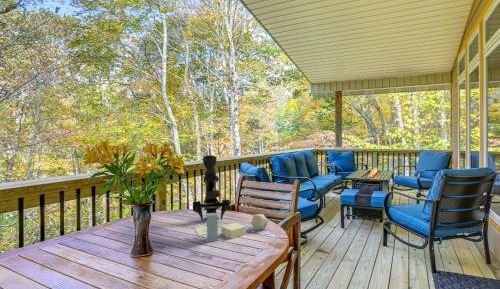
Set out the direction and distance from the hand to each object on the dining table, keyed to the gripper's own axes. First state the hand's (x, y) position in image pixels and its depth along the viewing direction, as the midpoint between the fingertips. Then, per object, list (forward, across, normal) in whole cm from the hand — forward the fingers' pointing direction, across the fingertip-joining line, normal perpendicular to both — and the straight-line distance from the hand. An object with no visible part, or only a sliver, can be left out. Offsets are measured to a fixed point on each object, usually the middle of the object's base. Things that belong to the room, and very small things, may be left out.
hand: (211, 220), depth 144 cm
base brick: (+3, +11, +9) cm, 15 cm away
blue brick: (+7, 0, +6) cm, 9 cm away
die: (0, +25, +13) cm, 28 cm away
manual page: (-3, -4, +15) cm, 16 cm away
